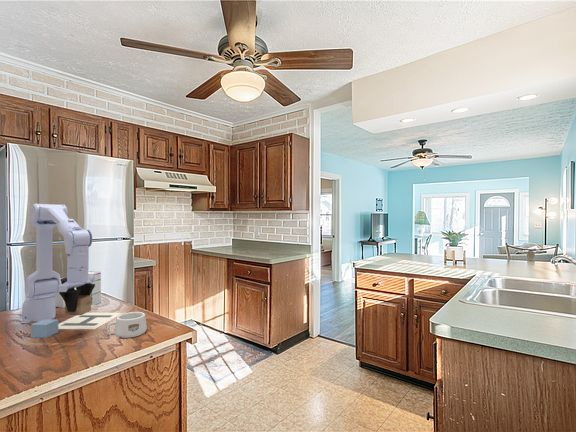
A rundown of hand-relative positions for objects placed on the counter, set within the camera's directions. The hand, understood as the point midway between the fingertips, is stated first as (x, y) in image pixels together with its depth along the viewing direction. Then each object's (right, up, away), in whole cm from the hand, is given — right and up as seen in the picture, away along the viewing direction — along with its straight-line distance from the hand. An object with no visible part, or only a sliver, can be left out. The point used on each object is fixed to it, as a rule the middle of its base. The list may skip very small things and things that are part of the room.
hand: (77, 309), depth 100 cm
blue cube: (-11, -9, 0) cm, 14 cm away
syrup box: (-20, -9, +38) cm, 44 cm away
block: (0, -1, 0) cm, 1 cm away
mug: (+14, -10, +3) cm, 18 cm away
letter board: (-6, -9, +14) cm, 18 cm away
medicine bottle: (-30, -9, +36) cm, 47 cm away
